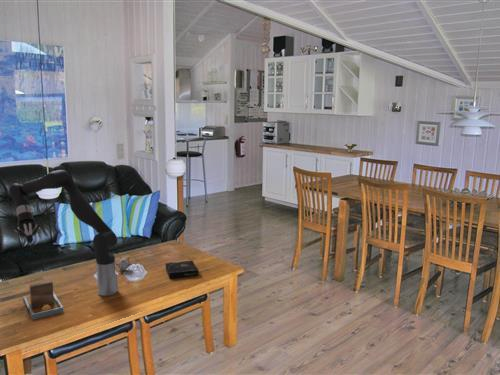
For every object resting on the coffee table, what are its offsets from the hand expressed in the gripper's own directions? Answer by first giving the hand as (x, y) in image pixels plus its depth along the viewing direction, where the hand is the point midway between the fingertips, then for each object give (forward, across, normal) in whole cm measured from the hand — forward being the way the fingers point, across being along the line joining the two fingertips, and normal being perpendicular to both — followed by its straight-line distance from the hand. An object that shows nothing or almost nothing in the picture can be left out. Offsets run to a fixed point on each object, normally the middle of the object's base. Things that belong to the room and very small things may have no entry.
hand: (30, 242), depth 235 cm
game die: (+20, +49, +17) cm, 55 cm away
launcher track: (+32, 0, +4) cm, 32 cm away
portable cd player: (+35, +76, +3) cm, 84 cm away
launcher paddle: (+35, 0, +2) cm, 35 cm away
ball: (+41, 0, -7) cm, 41 cm away
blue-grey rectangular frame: (+41, 0, -4) cm, 41 cm away
